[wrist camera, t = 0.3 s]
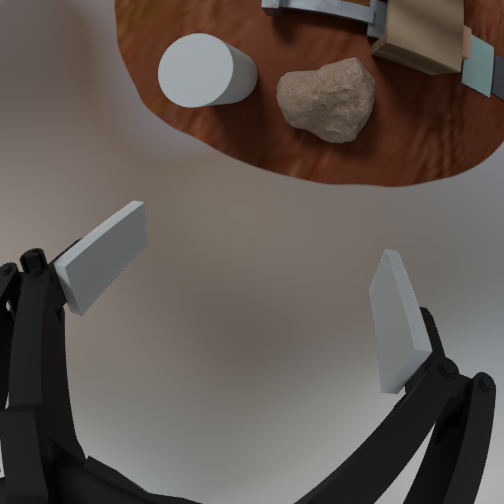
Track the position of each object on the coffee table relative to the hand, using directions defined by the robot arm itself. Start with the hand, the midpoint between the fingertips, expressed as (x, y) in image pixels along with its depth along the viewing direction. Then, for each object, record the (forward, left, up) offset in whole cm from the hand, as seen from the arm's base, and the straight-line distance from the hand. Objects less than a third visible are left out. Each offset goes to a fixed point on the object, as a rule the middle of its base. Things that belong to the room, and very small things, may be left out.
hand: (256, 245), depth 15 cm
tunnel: (-21, +12, -27) cm, 37 cm away
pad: (-21, +25, -27) cm, 42 cm away
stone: (-7, +3, -27) cm, 28 cm away
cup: (-9, -11, -27) cm, 31 cm away
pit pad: (-21, +29, -27) cm, 45 cm away
